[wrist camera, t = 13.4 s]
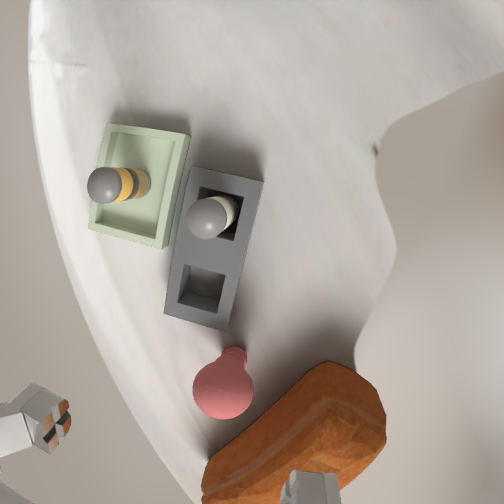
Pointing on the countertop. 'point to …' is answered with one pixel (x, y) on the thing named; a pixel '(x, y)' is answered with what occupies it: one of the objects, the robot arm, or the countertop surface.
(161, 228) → the tray
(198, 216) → the ball
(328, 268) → the countertop surface
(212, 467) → the bread
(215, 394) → the light bulb
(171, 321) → the countertop surface
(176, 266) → the fuse holder
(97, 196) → the cylinder
